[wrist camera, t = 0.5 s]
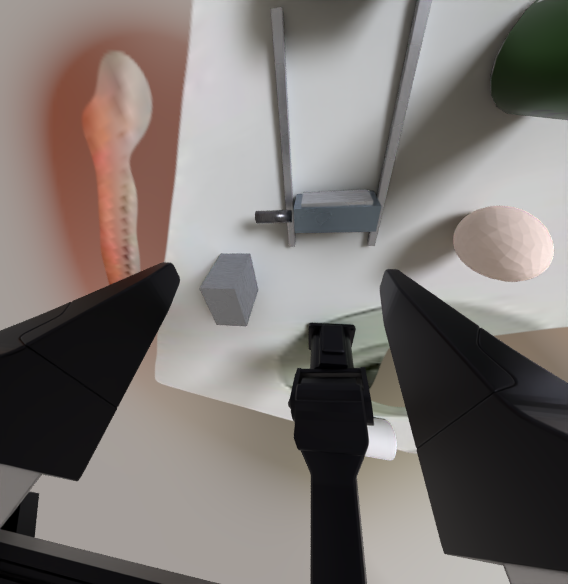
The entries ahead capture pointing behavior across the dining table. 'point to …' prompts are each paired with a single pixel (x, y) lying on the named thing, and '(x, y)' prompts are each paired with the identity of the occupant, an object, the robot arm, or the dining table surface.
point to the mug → (381, 440)
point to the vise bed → (398, 116)
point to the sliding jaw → (329, 212)
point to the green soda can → (534, 63)
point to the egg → (504, 243)
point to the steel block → (231, 289)
